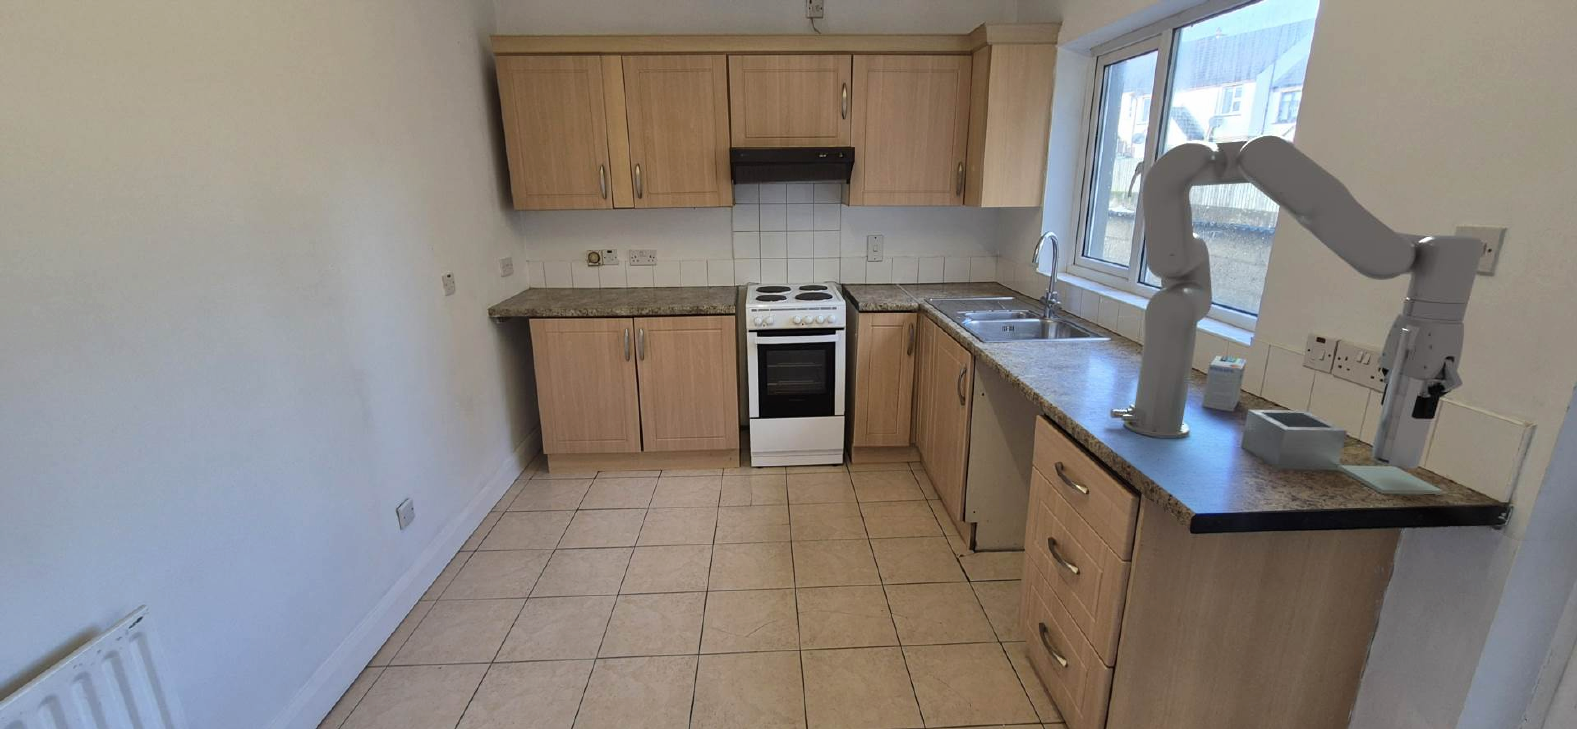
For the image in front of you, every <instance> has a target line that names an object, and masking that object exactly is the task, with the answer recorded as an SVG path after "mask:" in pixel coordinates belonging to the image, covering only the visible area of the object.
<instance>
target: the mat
mask: <svg viewBox="0 0 1577 729" xmlns="http://www.w3.org/2000/svg"><path fill="white" fill-rule="evenodd" d="M1337 471H1340V472H1342V473H1343V474H1345V475H1347V476H1349V477H1351V478H1353V479H1355V480H1356V481H1358V482H1360V483H1362V484H1363V485H1366V486H1367V487H1369V488H1371V489H1373V490H1374V491H1376V492H1378V493H1379V494H1383V495H1385V494H1386V495H1388V494H1389V495H1421V494H1435V495H1434V496H1442V495H1443V493H1444V490H1442V489H1441V488H1439V487H1437V486H1434V485H1433V484H1431V483H1429V482H1426V481H1425V480H1422V479H1421V478H1418V477H1416V476H1414V475H1412V474H1410V473H1409V472H1406V471H1404V470H1403V469H1400V467H1394V466H1390V465H1384V466H1383V465H1342V464H1341V465H1340V464H1339V466H1338V470H1337Z"/></svg>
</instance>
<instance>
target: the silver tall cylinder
mask: <svg viewBox="0 0 1577 729" xmlns="http://www.w3.org/2000/svg"><path fill="white" fill-rule="evenodd" d="M1419 329H1420V327H1417V326H1412V325H1408V324H1407V327H1406V329H1404V328H1403V329H1402V331H1401V336H1400V340H1399V344H1398V348H1397V353H1396V357H1395V361H1394V365H1393V369H1392V371H1391V375H1390V379H1389V383H1388V387H1387V391H1386V395H1385V399H1384V403H1383V405H1382V408H1381V412H1380V416H1379V419H1378V424H1377V428H1376V431H1375V435H1374V439H1373V444H1372V448H1371V451H1370V452H1371V453H1370V458H1372V459H1373V460H1374V461H1376V462H1378V463H1381V464H1382V465H1385V466H1394V467H1397V468H1399V469H1400V468H1402V469H1415V468H1418V467H1420V464H1421V459H1422V456H1423V452H1424V449H1425V445H1426V441H1427V439H1428V438H1427V437H1428V435H1429V434H1428V433H1429V430H1430V426H1431V423H1432V419H1415V418H1413V417H1412V414H1413V410H1414V407H1415V403H1416V399H1417V396H1422V395H1421V387H1422V384H1423V380H1417V379H1414V378H1412V377H1408V376H1406V375H1404V374H1401V373H1402V369H1403V365H1404V361H1405V357H1406V353H1407V349H1410V350H1414V348H1413V346H1415V345H1414V341H1415V338H1416V336H1417V333H1418V331H1419ZM1435 378H1436V379H1439V378H1440V374H1438V375H1437V376H1436V377H1435ZM1430 384H1431V388H1432V387H1434V386H1436V385H1437V382H1430Z"/></svg>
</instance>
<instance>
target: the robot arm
mask: <svg viewBox="0 0 1577 729" xmlns="http://www.w3.org/2000/svg"><path fill="white" fill-rule="evenodd" d="M1236 184H1237V185H1238V184H1239V185H1241V184H1251V185H1252V186H1254V188H1256V189H1258V191H1259V192H1261V193H1263V194H1264V195H1265V196H1266V197H1267V198H1269V199H1270V200H1271V201H1273V202H1274V203H1276V205H1278V206H1279V207H1280V208H1281V209H1282V210H1283V211H1285V212H1286V213H1287V214H1288V215H1290V217H1292V218H1293V219H1294V220H1296V221H1297V223H1298V224H1299V225H1300V226H1301V227H1303V228H1304V229H1306V230H1307V231H1308V232H1310V233H1311V234H1312V235H1313V236H1314V237H1315V238H1316V239H1317V240H1319V241H1320V242H1321V243H1322V244H1323V245H1324V246H1326V247H1327V248H1328V249H1329V250H1330V251H1332V252H1333V253H1334V254H1335V255H1336V256H1337V257H1339V258H1340V259H1341V260H1343V262H1345V263H1346V264H1348V265H1349V266H1350V267H1351V268H1352V269H1354V270H1355V271H1356V272H1358V274H1360V275H1362V276H1364V277H1366V278H1368V279H1371V280H1377V281H1385V280H1392V279H1394V278H1397V277H1399V276H1401V275H1410V280H1409V284H1408V288H1407V291H1406V295H1405V300H1404V301H1403V307H1402V311H1401V313H1398V314H1397V316H1396V317H1395V319H1394V321H1393V322H1392V325H1391V326H1390V329H1389V331H1388V334H1387V336H1386V340H1385V342H1384V345H1383V348H1382V351H1381V356H1380V357H1378V358H1377V363H1378V365H1379V366H1380V368H1381V372H1382V375H1383V377H1384V378H1383V379H1382V380H1383V383H1384V384H1385V386H1384V391H1383V394H1382V397H1381V398H1382V399H1381V402H1380V405H1381V406H1383V403H1384V399H1385V395H1386V391H1387V387H1388V383H1389V379H1390V375H1391V371H1392V369H1393V365H1394V361H1395V357H1396V353H1397V348H1398V344H1399V340H1400V336H1401V331H1402V329H1403V328H1404V329H1406V327H1407V324H1408V325H1412V326H1417V327H1420V329H1419V331H1418V333H1417V336H1416V338H1415V341H1414V345H1415V346H1413V348H1414V350H1410V349H1407V353H1406V357H1405V361H1404V365H1403V369H1402V373H1401V374H1404V375H1406V376H1408V377H1412V378H1414V379H1417V380H1423V384H1422V387H1421V395H1422V396H1417V399H1416V403H1415V407H1414V410H1413V414H1412V417H1413V418H1415V419H1434V418H1435V416H1436V412H1437V408H1438V406H1439V402H1440V399H1441V398H1444V397H1445V396H1446V395H1447V394H1449V393H1450V392H1452V390H1456V389H1457V388H1460V387H1462V385H1463V380H1462V379H1461V377H1460V375H1459V373H1458V369H1459V365H1460V362H1461V356H1462V352H1463V345H1464V338H1465V337H1464V336H1465V323H1464V319H1465V314H1466V312H1467V308H1468V303H1469V300H1470V296H1471V293H1472V291H1473V286H1474V283H1475V279H1476V275H1477V272H1478V269H1479V266H1480V262H1481V258H1482V253H1483V250H1484V243H1483V241H1482V240H1481V239H1480V238H1477V237H1473V236H1464V235H1463V236H1462V235H1430V236H1429V235H1417V234H1411V233H1410V234H1409V233H1405V232H1397V231H1394V230H1393V229H1392V228H1390V227H1389V226H1388V225H1387V224H1385V223H1384V222H1382V221H1381V220H1380V219H1379V218H1377V217H1376V216H1375V215H1373V214H1372V213H1371V212H1370V211H1369V210H1367V208H1365V207H1363V205H1361V203H1359V201H1357V199H1355V198H1354V197H1353V195H1352V193H1351V192H1350V190H1349V189H1348V188H1347V186H1345V184H1344V183H1342V182H1341V181H1340V180H1339V179H1338V178H1336V177H1335V176H1334V175H1332V174H1331V173H1330V172H1329V171H1328V170H1326V169H1324V168H1323V167H1322V166H1321V165H1319V164H1317V163H1316V162H1315V161H1314V160H1313V159H1311V157H1308V156H1307V155H1306V154H1305V153H1304V152H1302V151H1301V150H1299V149H1298V148H1297V147H1296V145H1295V144H1294V143H1293V142H1292V141H1291V140H1290V139H1289V138H1287V137H1284V136H1281V135H1277V134H1272V133H1271V134H1269V133H1268V134H1262V135H1259V136H1256V137H1254V138H1252V139H1244V140H1232V141H1231V140H1230V141H1219V142H1206V141H1201V140H1190V141H1186V142H1182V143H1180V144H1177V145H1175V146H1173V147H1172V148H1170V149H1169V150H1167V151H1165V152H1164V153H1163V154H1162V155H1161V156H1159V157H1158V158H1157V159H1156V161H1155V162H1153V163H1152V165H1151V167H1150V168H1149V170H1148V171H1147V173H1146V176H1145V178H1144V181H1143V186H1142V187H1143V188H1142V208H1143V209H1142V210H1143V218H1144V224H1143V225H1144V237H1145V250H1146V251H1145V252H1146V254H1145V255H1146V265H1147V267H1148V269H1149V271H1150V273H1151V274H1152V275H1154V276H1155V277H1157V278H1159V279H1160V286H1161V289H1160V290H1158V291H1156V292H1155V293H1154V294H1153V295H1152V296H1151V298H1150V299H1149V301H1148V303H1147V305H1146V308H1145V311H1144V331H1143V332H1144V334H1143V345H1142V351H1141V353H1142V354H1141V361H1140V365H1139V366H1140V367H1139V373H1138V380H1137V387H1136V393H1135V401H1134V404H1129V408H1128V407H1127V408H1125V409H1121V408H1120V409H1116V408H1115V409H1113V408H1111V409H1110V417H1111V418H1112V419H1121V421H1124V422H1123V424H1124V426H1125V427H1127V429H1129V430H1131V431H1133V432H1135V433H1137V434H1141V435H1144V436H1148V437H1153V438H1160V439H1182V438H1184V437H1188V435H1189V434H1190V428H1191V427H1190V426H1189V425H1188V424H1186V423H1184V422H1183V420H1184V416H1185V415H1184V414H1185V410H1186V409H1185V408H1186V404H1187V399H1188V397H1187V396H1188V392H1189V386H1190V380H1191V375H1192V370H1193V369H1192V368H1193V362H1194V361H1193V360H1194V354H1195V349H1196V337H1197V327H1198V323H1199V322H1200V321H1201V320H1203V319H1204V318H1205V317H1206V316H1207V315H1208V314H1209V313H1210V310H1211V308H1212V304H1213V292H1212V291H1213V290H1212V278H1211V276H1212V275H1211V266H1210V265H1211V263H1210V254H1209V250H1208V246H1207V244H1206V242H1205V240H1204V239H1203V238H1202V237H1201V236H1200V235H1198V234H1197V233H1194V229H1193V228H1194V226H1193V210H1192V205H1191V201H1190V200H1191V199H1190V193H1191V192H1190V191H1191V189H1192V187H1203V186H1205V187H1206V186H1219V185H1236ZM1438 374H1440V378H1439V379H1436V378H1435V377H1436V376H1437V375H1438ZM1430 382H1437V385H1436V386H1434V387H1432V388H1431V384H1430Z"/></svg>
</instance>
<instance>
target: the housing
mask: <svg viewBox="0 0 1577 729" xmlns="http://www.w3.org/2000/svg"><path fill="white" fill-rule="evenodd" d="M1347 432H1348V430H1346V429H1345V428H1342V427H1340V426H1338V425H1336V424H1334V423H1332V422H1329V421H1327V420H1326V419H1323V418H1321V417H1319V416H1317V415H1316V414H1313V413H1311V412H1309V411H1307V410H1296V409H1295V410H1293V409H1292V410H1289V409H1288V410H1287V409H1286V410H1285V409H1247V414H1246V419H1245V424H1244V430H1243V435H1242V439H1241V444H1240V447H1241V448H1243V450H1246V451H1247V452H1248V453H1250V454H1252V455H1254V456H1255V457H1257V458H1259V459H1260V460H1262V461H1263V462H1265V463H1266V464H1268V465H1269V466H1271V467H1272V468H1274V469H1275V470H1297V471H1299V470H1302V471H1306V470H1307V471H1339V470H1338V468H1339V465H1340V461H1341V457H1342V452H1343V449H1344V445H1345V440H1346V436H1347Z"/></svg>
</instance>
